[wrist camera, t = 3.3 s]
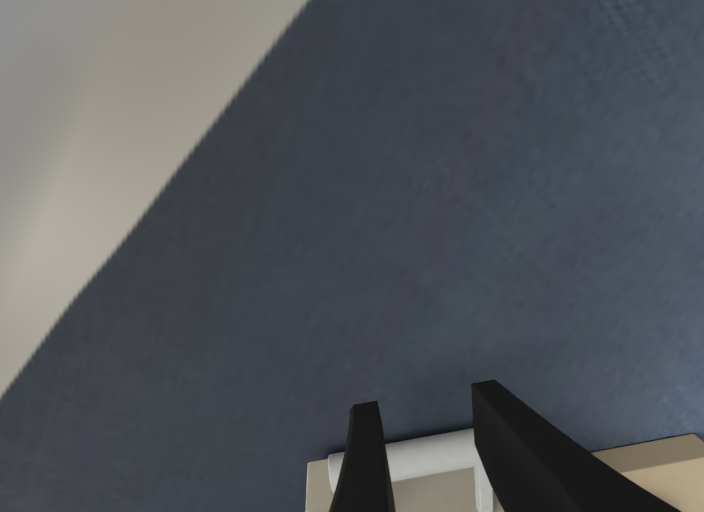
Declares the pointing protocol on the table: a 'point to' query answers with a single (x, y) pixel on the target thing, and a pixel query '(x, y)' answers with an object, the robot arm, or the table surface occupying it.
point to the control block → (664, 469)
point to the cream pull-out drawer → (419, 476)
